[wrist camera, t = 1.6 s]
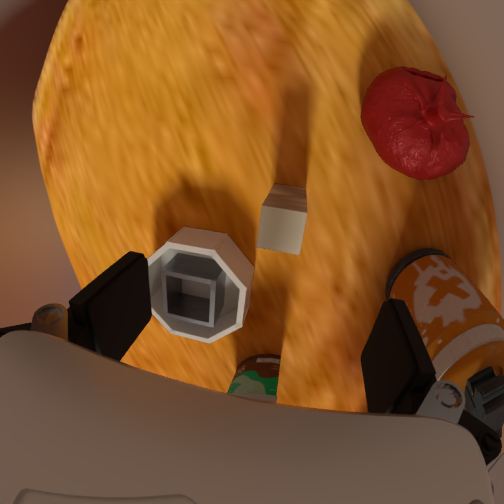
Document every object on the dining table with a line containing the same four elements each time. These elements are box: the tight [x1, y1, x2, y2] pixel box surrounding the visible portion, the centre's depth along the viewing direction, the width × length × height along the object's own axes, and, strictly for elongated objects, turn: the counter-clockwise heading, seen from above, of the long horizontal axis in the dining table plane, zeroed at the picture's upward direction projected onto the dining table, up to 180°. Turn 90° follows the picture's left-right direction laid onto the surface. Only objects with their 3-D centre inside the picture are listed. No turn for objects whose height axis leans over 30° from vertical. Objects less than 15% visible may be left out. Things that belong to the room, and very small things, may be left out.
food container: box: [227, 354, 281, 403], centre depth 33 cm, size 12×6×10 cm, turn 168°
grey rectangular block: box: [257, 183, 307, 255], centre depth 23 cm, size 3×3×9 cm
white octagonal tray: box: [147, 227, 255, 343], centre depth 30 cm, size 11×11×4 cm
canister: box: [386, 248, 504, 438], centre depth 19 cm, size 9×11×20 cm
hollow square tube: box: [161, 253, 226, 328], centre depth 30 cm, size 6×6×4 cm
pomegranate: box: [361, 67, 474, 180], centre depth 18 cm, size 10×10×9 cm
